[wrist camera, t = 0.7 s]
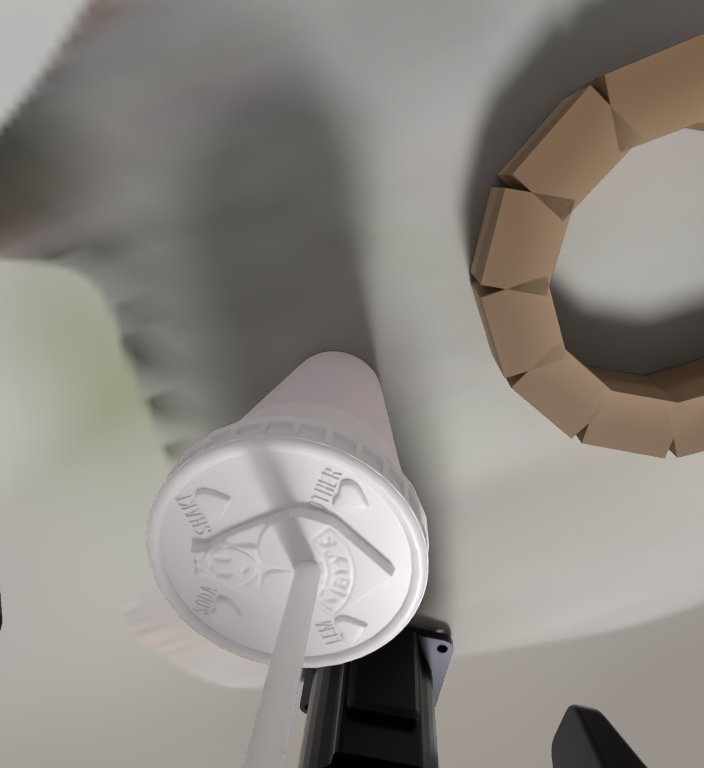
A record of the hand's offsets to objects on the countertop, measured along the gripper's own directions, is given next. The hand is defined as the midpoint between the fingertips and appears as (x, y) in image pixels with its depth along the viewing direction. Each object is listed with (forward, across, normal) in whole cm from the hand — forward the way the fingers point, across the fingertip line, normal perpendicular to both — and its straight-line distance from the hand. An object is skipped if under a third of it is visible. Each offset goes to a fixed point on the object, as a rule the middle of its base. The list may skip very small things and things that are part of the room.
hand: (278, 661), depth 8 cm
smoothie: (+13, 0, +1) cm, 13 cm away
